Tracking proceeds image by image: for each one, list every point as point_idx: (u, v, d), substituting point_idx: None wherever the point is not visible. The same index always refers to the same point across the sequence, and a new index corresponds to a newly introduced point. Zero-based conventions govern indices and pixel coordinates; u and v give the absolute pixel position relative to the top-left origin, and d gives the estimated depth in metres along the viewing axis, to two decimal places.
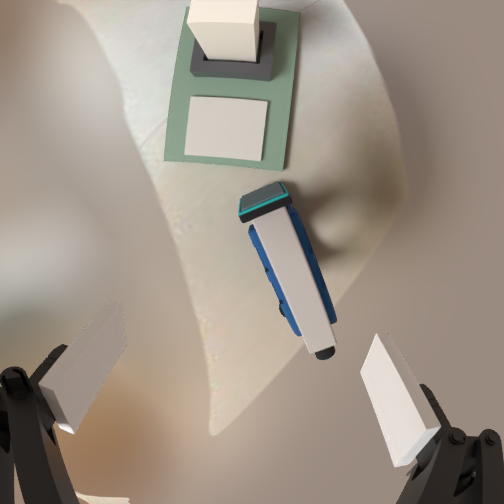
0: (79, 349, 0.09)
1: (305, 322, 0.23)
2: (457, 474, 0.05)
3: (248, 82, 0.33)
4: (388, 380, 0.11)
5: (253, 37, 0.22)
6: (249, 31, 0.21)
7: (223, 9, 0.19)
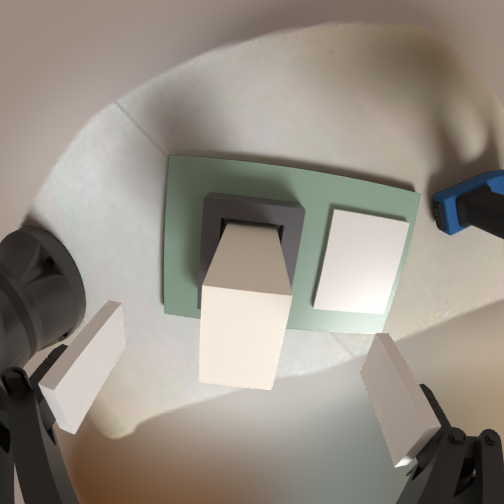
0: (79, 349, 0.09)
1: None
2: (457, 474, 0.05)
3: None
4: (388, 380, 0.11)
5: (285, 268, 0.16)
6: None
7: (250, 343, 0.14)
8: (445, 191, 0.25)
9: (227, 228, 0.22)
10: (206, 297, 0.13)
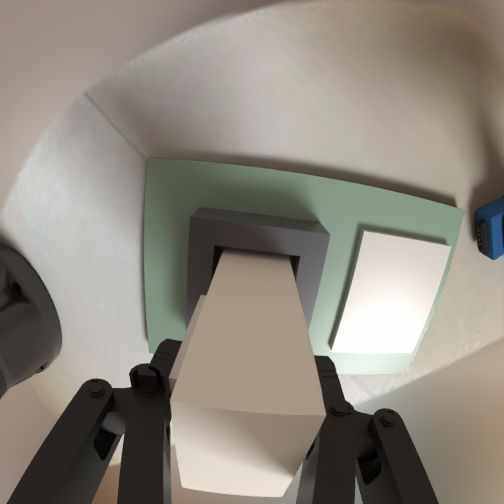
0: None
1: None
2: (353, 447, 0.07)
3: None
4: None
5: None
6: None
7: (253, 464, 0.07)
8: (489, 206, 0.18)
9: (222, 261, 0.16)
10: (179, 415, 0.07)
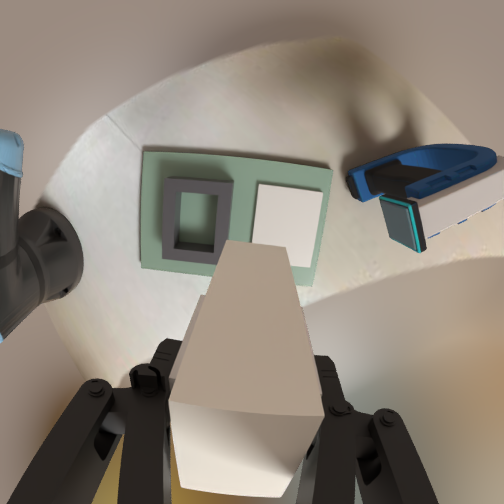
0: None
1: (501, 192, 0.17)
2: (353, 447, 0.07)
3: (235, 203, 0.36)
4: None
5: None
6: None
7: (252, 464, 0.07)
8: (358, 167, 0.35)
9: (221, 262, 0.16)
10: (177, 415, 0.07)
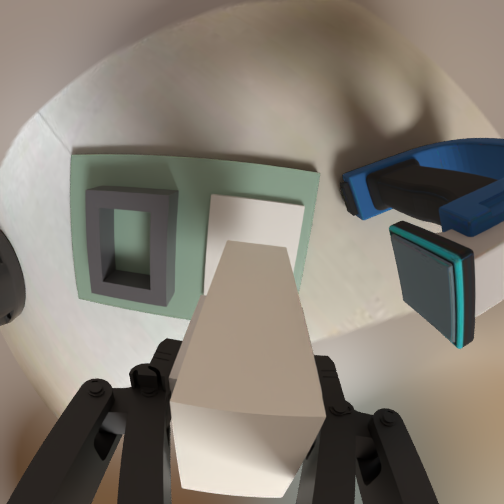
0: None
1: None
2: (353, 447, 0.07)
3: (181, 221, 0.26)
4: None
5: None
6: None
7: (253, 464, 0.07)
8: (357, 169, 0.24)
9: (222, 262, 0.16)
10: (179, 416, 0.07)
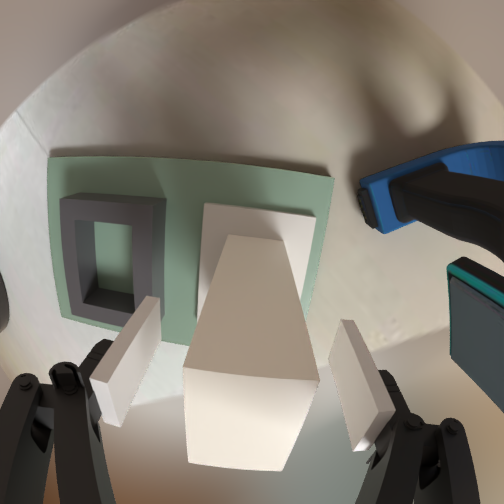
0: (126, 342, 0.11)
1: None
2: (419, 461, 0.06)
3: (170, 234, 0.22)
4: (349, 365, 0.12)
5: (304, 322, 0.11)
6: None
7: (255, 432, 0.09)
8: (377, 174, 0.20)
9: (224, 253, 0.17)
10: (190, 381, 0.08)
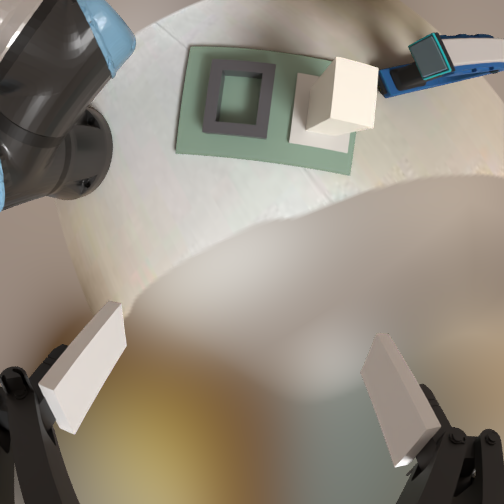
0: (79, 349, 0.09)
1: None
2: (457, 474, 0.05)
3: (275, 89, 0.34)
4: (388, 380, 0.11)
5: None
6: None
7: (360, 91, 0.21)
8: None
9: None
10: (338, 62, 0.20)
